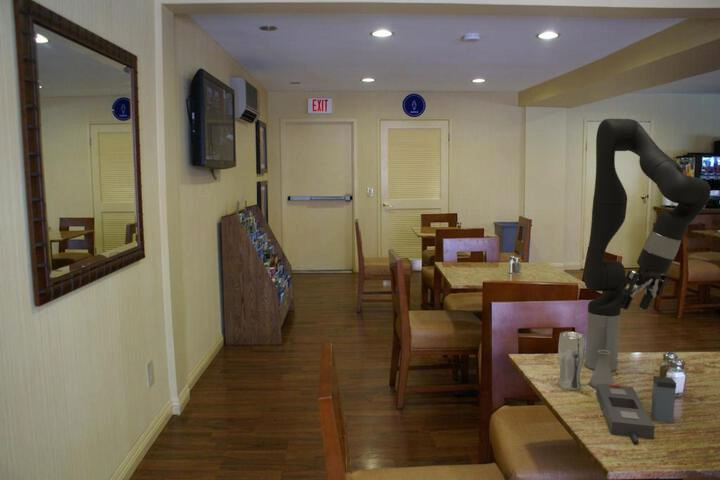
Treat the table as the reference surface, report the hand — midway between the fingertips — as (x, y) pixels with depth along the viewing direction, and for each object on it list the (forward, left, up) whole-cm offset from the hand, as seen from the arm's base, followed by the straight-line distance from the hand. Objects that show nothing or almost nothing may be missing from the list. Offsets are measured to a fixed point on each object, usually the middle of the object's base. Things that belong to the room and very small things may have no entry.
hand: (633, 308), depth 149 cm
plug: (+10, +6, -25) cm, 28 cm away
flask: (-9, -5, -25) cm, 27 cm away
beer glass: (-6, -14, -25) cm, 29 cm away
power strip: (+12, -3, -25) cm, 28 cm away
